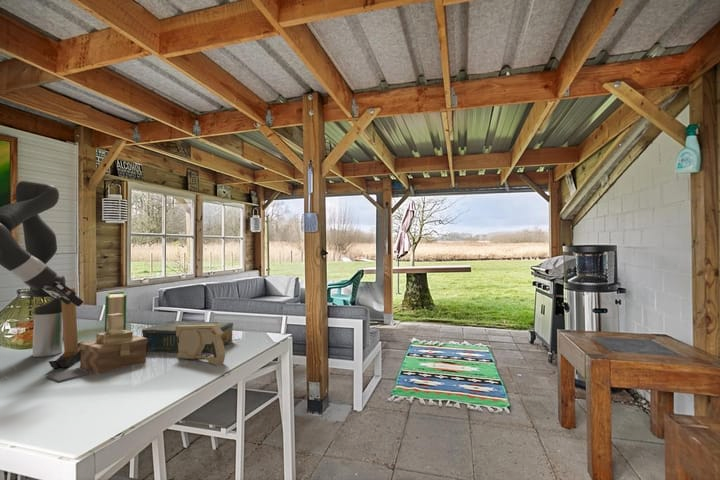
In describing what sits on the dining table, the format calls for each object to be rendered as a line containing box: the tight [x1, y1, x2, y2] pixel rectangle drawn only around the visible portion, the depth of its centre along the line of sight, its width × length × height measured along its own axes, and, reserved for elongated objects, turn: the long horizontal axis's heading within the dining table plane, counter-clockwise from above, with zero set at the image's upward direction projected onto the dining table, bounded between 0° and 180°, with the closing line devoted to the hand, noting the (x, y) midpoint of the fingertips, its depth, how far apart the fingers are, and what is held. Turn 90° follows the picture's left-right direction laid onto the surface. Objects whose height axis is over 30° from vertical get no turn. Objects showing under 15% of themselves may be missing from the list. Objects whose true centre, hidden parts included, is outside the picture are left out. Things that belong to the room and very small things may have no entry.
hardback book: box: [104, 291, 128, 332], centre depth 156 cm, size 18×7×24 cm, turn 35°
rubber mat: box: [45, 367, 92, 383], centre depth 118 cm, size 10×9×1 cm
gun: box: [176, 325, 226, 366], centre depth 135 cm, size 24×3×15 cm, turn 65°
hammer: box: [48, 286, 84, 369], centre depth 131 cm, size 20×5×30 cm, turn 18°
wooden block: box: [106, 313, 124, 335], centre depth 131 cm, size 4×4×10 cm
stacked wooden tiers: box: [79, 329, 148, 375], centre depth 130 cm, size 15×17×12 cm
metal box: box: [141, 320, 234, 354], centre depth 156 cm, size 21×32×10 cm, turn 84°
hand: (75, 303), depth 120 cm, fingers open, 8 cm apart
